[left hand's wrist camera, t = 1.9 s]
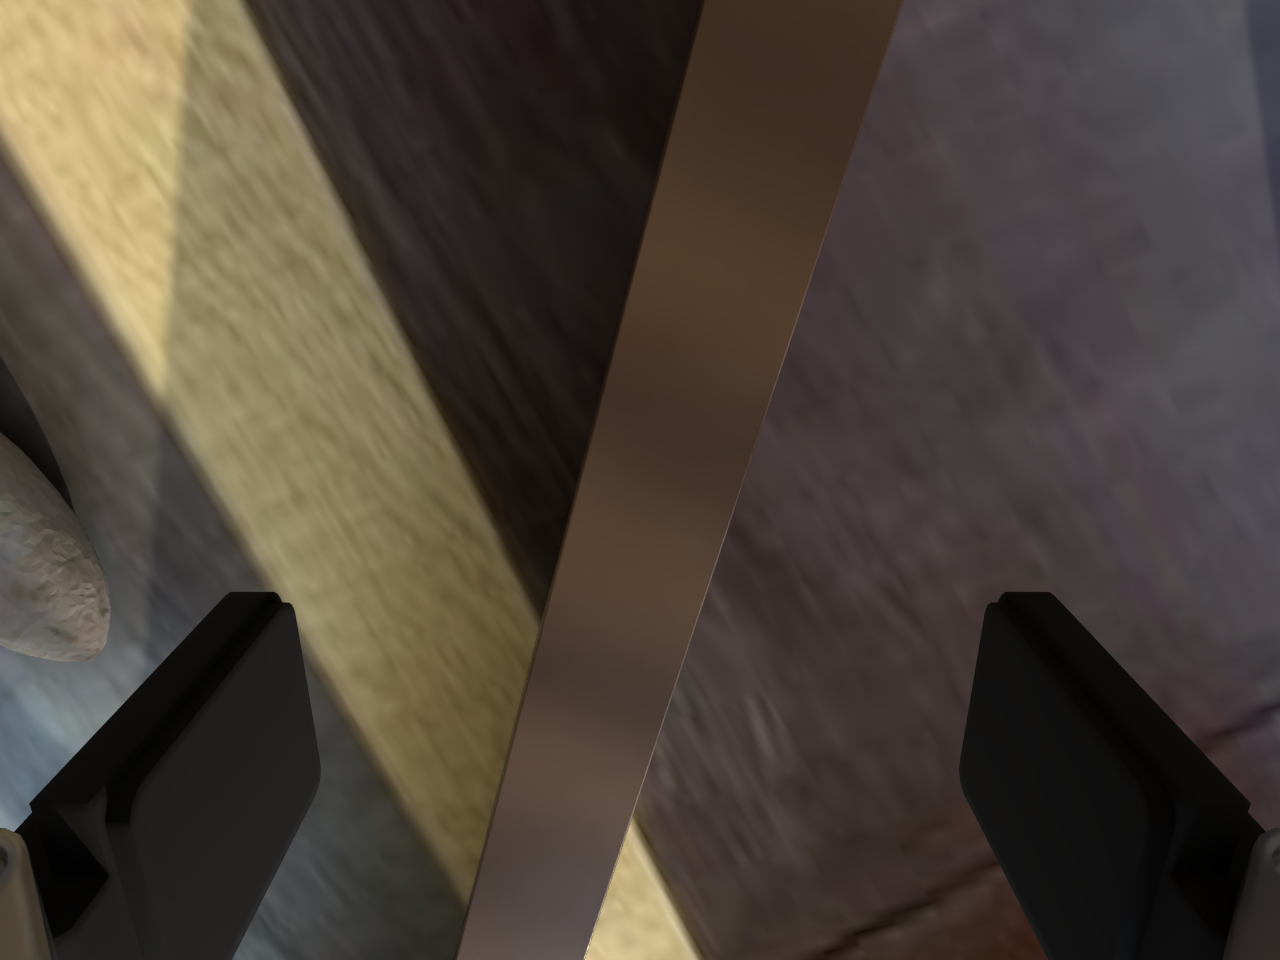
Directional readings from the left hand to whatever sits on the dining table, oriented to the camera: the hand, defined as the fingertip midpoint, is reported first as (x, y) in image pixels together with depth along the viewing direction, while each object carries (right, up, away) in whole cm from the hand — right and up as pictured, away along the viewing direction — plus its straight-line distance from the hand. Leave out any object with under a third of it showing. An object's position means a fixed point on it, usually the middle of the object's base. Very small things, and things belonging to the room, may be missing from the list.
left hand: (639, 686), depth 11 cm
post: (-6, -18, +27) cm, 33 cm away
